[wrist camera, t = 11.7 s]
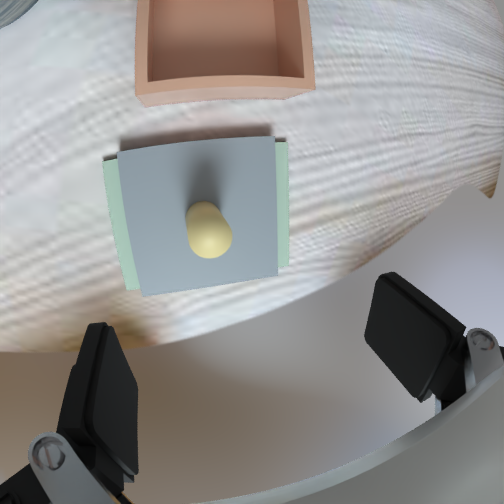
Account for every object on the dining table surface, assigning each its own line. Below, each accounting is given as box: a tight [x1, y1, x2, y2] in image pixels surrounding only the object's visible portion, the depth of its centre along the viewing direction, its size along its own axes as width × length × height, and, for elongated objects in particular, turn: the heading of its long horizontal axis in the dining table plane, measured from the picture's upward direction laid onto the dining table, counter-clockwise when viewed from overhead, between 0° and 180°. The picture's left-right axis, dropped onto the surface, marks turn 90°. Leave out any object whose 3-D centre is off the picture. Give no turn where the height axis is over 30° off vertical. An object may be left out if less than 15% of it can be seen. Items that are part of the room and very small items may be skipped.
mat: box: [102, 142, 289, 290], centre depth 24 cm, size 16×12×1 cm
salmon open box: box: [135, 0, 315, 107], centre depth 16 cm, size 12×12×6 cm
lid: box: [117, 136, 278, 297], centre depth 21 cm, size 13×13×6 cm
